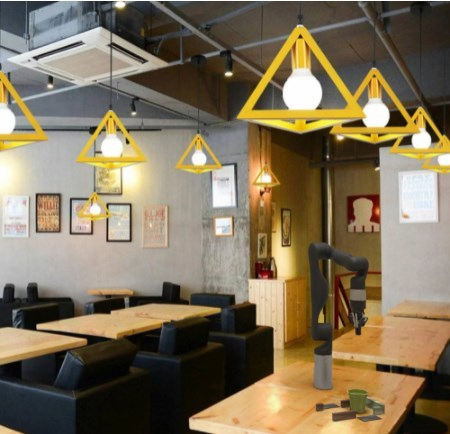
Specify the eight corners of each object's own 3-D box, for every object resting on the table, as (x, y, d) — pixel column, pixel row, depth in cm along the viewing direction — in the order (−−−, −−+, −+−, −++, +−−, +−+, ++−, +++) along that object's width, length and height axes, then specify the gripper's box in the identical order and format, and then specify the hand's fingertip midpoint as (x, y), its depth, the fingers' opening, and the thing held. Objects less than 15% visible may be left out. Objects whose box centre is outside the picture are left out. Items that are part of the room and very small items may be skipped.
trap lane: (310, 406, 240) (310, 398, 240) (357, 400, 249) (357, 391, 249) (340, 425, 216) (340, 415, 217) (392, 417, 226) (392, 408, 226)
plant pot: (343, 409, 237) (342, 389, 237) (360, 406, 240) (360, 387, 240) (355, 415, 228) (355, 395, 228) (373, 413, 231) (372, 393, 232)
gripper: (343, 297, 253) (343, 333, 253) (359, 300, 241) (359, 338, 241) (356, 296, 256) (356, 332, 256) (372, 300, 243) (373, 337, 243)
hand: (358, 335), depth 248 cm, fingers closed
